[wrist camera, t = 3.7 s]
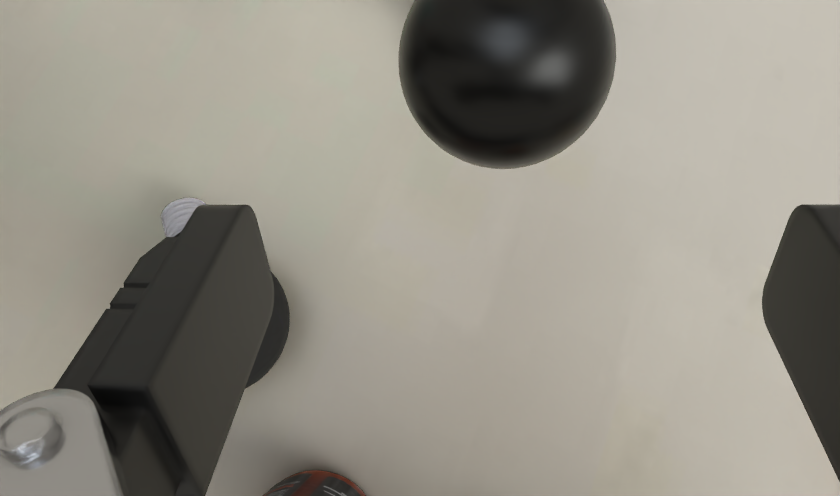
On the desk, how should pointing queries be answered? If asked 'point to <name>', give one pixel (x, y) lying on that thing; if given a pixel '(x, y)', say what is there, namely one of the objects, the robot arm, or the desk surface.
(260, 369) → the light bulb
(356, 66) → the desk surface
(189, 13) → the desk surface
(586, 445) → the desk surface
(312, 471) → the supplement bottle
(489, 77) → the power lever
